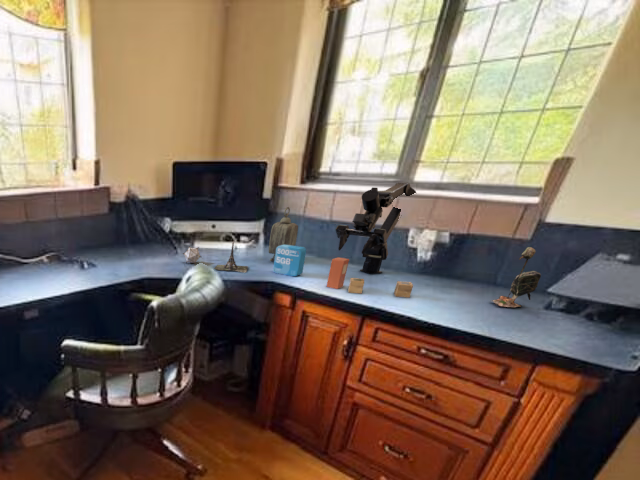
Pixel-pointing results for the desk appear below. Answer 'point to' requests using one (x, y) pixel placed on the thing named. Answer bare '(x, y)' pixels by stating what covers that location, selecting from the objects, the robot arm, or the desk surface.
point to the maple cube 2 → (403, 289)
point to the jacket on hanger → (282, 234)
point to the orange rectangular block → (337, 272)
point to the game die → (192, 255)
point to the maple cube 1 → (356, 285)
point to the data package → (289, 260)
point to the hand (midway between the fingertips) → (350, 251)
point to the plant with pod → (521, 283)
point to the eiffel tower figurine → (232, 264)
